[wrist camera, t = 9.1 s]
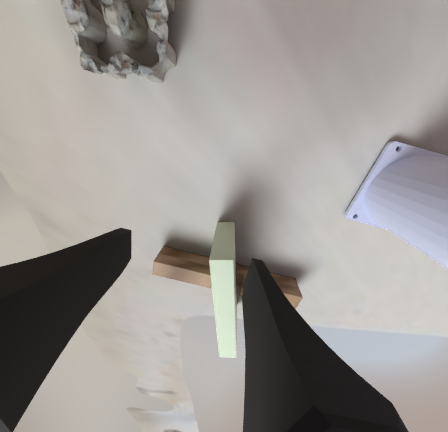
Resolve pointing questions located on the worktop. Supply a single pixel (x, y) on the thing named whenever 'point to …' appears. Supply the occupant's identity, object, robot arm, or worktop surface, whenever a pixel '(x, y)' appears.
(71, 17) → the egg carton
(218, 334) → the long pale green beam
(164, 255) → the walnut board
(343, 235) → the worktop surface
